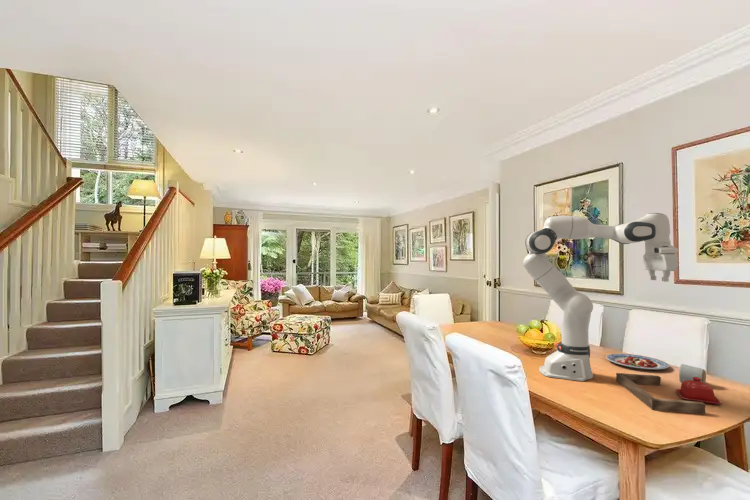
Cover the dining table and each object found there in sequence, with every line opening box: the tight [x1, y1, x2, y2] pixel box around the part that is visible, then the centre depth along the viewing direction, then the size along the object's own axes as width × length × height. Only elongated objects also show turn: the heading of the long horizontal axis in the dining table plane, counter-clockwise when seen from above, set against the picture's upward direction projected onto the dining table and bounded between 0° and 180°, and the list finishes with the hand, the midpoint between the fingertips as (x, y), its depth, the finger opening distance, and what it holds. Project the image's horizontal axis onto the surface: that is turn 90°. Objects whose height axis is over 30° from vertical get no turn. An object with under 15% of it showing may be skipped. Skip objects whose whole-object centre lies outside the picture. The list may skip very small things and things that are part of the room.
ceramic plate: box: [605, 353, 670, 371], centre depth 177 cm, size 26×26×3 cm
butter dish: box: [675, 377, 722, 405], centre depth 134 cm, size 12×12×8 cm
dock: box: [615, 372, 706, 415], centre depth 137 cm, size 16×30×4 cm, turn 166°
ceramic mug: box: [678, 363, 707, 383], centre depth 151 cm, size 11×8×8 cm
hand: (659, 280), depth 152 cm, fingers open, 8 cm apart
